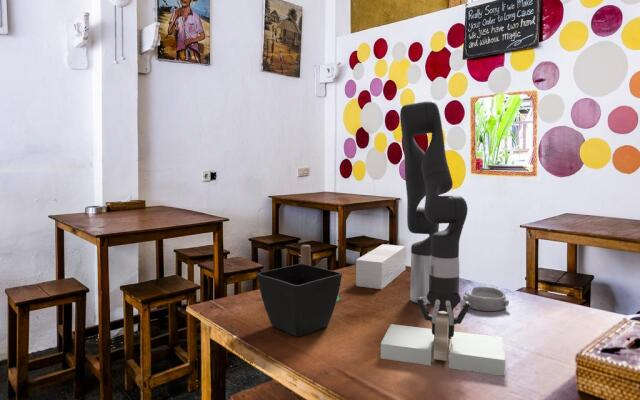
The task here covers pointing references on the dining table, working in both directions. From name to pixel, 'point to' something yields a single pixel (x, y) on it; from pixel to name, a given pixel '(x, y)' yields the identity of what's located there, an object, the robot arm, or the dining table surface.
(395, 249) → the long white block
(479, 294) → the dish
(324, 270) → the flower pot
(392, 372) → the dining table surface
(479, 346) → the slotted board
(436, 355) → the beige metallic bar
